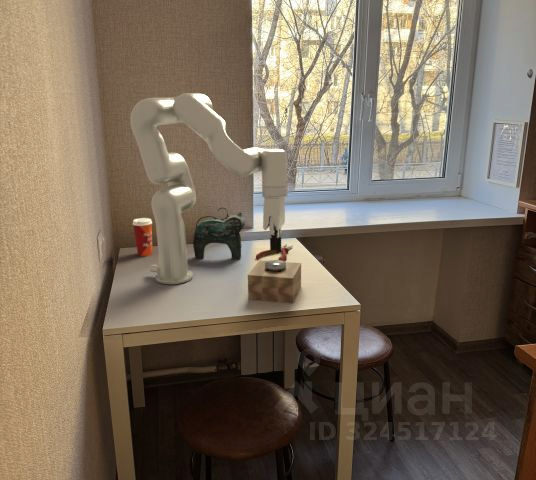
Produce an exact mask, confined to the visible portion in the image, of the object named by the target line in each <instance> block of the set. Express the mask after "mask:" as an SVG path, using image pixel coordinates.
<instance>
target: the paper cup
mask: <svg viewBox="0 0 536 480" xmlns="http://www.w3.org/2000/svg"><path fill="white" fill-rule="evenodd" d="M132 226H133V231H134V237H135V238H134V239H135V246H136V250H137V255H138V256H140V257H148V256H151V255H153V228H152V227H153V221H152V219H151V218H148V217H140V218H139V217H138V218H134V219H133V220H132Z"/></svg>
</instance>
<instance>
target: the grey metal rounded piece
mask: <svg viewBox="0 0 536 480" xmlns="http://www.w3.org/2000/svg"><path fill="white" fill-rule="evenodd" d="M266 261H267V262H266V263H265V269H266V270H267V271H271V272H281V271H284V270H285V269H286V262H287V261H281V260H278V259H271V260H266Z"/></svg>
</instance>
